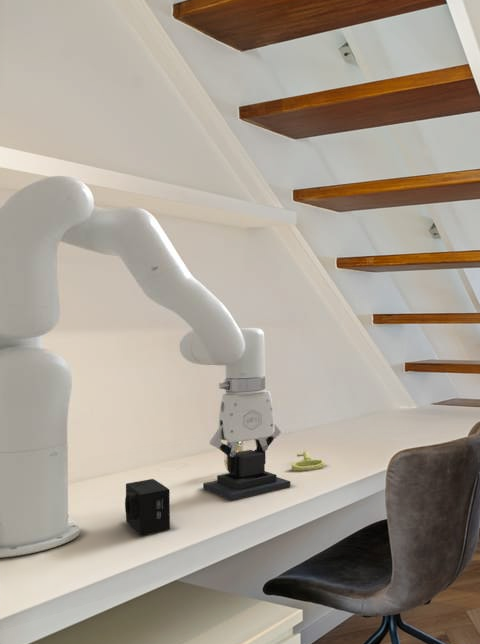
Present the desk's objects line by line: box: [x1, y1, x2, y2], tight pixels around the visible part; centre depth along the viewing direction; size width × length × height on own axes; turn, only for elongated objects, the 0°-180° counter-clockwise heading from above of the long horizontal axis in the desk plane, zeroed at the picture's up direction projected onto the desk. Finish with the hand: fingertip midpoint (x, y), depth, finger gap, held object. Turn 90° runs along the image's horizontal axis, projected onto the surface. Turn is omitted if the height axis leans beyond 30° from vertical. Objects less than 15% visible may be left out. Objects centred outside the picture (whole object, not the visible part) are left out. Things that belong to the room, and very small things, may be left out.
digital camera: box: [124, 478, 171, 537], centre depth 102 cm, size 10×5×7 cm, turn 46°
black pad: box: [237, 449, 266, 477], centre depth 125 cm, size 5×6×4 cm
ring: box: [223, 441, 246, 473], centre depth 138 cm, size 7×3×8 cm, turn 173°
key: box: [291, 450, 325, 472], centre depth 144 cm, size 7×12×2 cm, turn 43°
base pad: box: [202, 470, 291, 502], centre depth 125 cm, size 12×14×3 cm
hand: (246, 470), depth 125 cm, fingers closed on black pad, 4 cm apart
